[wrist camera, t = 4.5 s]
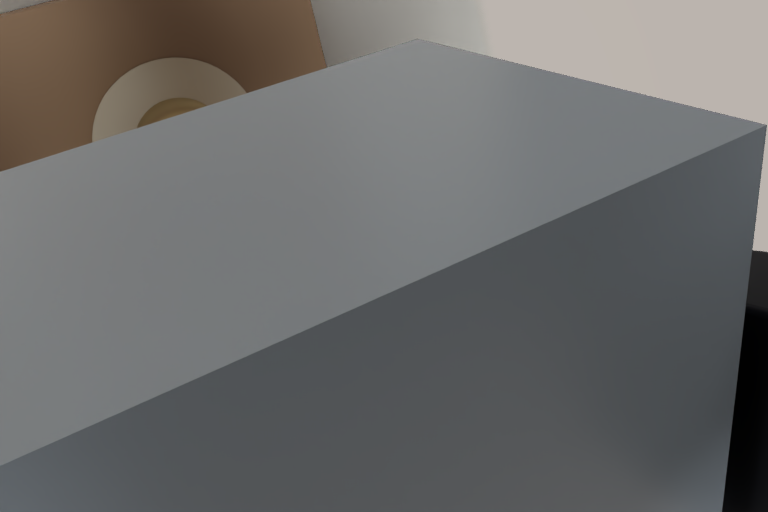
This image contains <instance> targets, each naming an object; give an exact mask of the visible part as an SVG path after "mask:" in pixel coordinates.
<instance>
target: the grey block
mask: <svg viewBox="0 0 768 512" xmlns="http://www.w3.org/2000/svg"><path fill="white" fill-rule="evenodd" d="M766 127H767V125H764V124H760V123H757V122H753V121H749V120H744V119H740V118H736V117H732V116H728V115H724V114H720V113H716V112H712V111H708V110H704V109H700V108H696V107H692V106H688V105H684V104H679V103H675V102H671V101H667V100H663V99H659V98H655V97H651V96H647V95H643V94H639V93H635V92H631V91H627V90H623V89H619V88H615V87H611V86H607V85H602V84H599V83H595V82H590V81H586V80H582V79H578V78H574V77H570V76H566V75H562V74H558V73H554V72H550V71H546V70H542V69H538V68H534V67H529V66H526V65H522V64H518V63H514V62H509V61H505V60H501V59H497V58H493V57H489V56H485V55H481V54H477V53H473V52H469V51H465V50H461V49H457V48H453V47H449V46H445V45H441V44H437V43H432V42H428V41H424V40H420V39H415V40H412V41H409V42H406V43H403V44H400V45H397V46H394V47H390V48H387V49H384V50H381V51H378V52H375V53H372V54H368V55H365V56H362V57H359V58H356V59H353V60H350V61H346V62H343V63H340V64H337V65H334V66H331V67H328V68H324V69H321V70H318V71H315V72H312V73H309V74H306V75H303V76H299V77H296V78H293V79H290V80H287V81H284V82H281V83H277V84H274V85H271V86H268V87H265V88H262V89H259V90H255V91H252V92H249V93H246V94H243V95H240V96H237V97H233V98H230V99H227V100H224V101H221V102H218V103H215V104H212V105H208V106H205V107H202V108H199V109H196V110H193V111H190V112H186V113H183V114H180V115H177V116H174V117H171V118H168V119H164V120H161V121H158V122H155V123H152V124H149V125H146V126H143V127H139V128H136V129H133V130H130V131H127V132H124V133H121V134H117V135H114V136H111V137H108V138H105V139H102V140H99V141H95V142H92V143H89V144H86V145H83V146H80V147H77V148H73V149H70V150H67V151H64V152H61V153H58V154H55V155H52V156H48V157H45V158H42V159H39V160H36V161H33V162H30V163H26V164H23V165H20V166H17V167H14V168H11V169H8V170H4V171H1V172H0V512H722V506H723V498H724V489H725V480H726V472H727V463H728V455H729V446H730V437H731V429H732V420H733V411H734V403H735V394H736V386H737V377H738V368H739V360H740V351H741V343H742V334H743V325H744V317H745V308H746V300H747V291H748V282H749V274H750V265H751V257H752V248H753V239H754V231H755V222H756V213H757V205H758V196H759V188H760V179H761V170H762V162H763V153H764V144H765V136H766Z"/></svg>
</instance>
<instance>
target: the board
mask: <svg viewBox="0 0 768 512" xmlns="http://www.w3.org/2000/svg"><path fill="white" fill-rule="evenodd" d="M324 68H327V67H326V63H325V59H324V55H323V51H322V47H321V43H320V38H319V34H318V30H317V26H316V22H315V18H314V14H313V10H312V6H311V1H310V0H53V1H49V2H45V3H41V4H37V5H34V6H30V7H26V8H22V9H18V10H14V11H10V12H6V13H3V14H0V172H1V171H4V170H8V169H11V168H14V167H17V166H20V165H23V164H26V163H30V162H33V161H36V160H39V159H42V158H45V157H48V156H52V155H55V154H58V153H61V152H64V151H67V150H70V149H73V148H77V147H80V146H83V145H86V144H89V143H92V142H95V141H99V140H102V139H105V138H108V137H111V136H114V135H117V134H121V133H124V132H127V131H130V130H133V129H136V128H139V127H143V126H146V125H149V124H152V123H155V122H158V121H161V120H164V119H168V118H171V117H174V116H177V115H180V114H183V113H186V112H190V111H193V110H196V109H199V108H202V107H205V106H208V105H212V104H215V103H218V102H221V101H224V100H227V99H230V98H233V97H237V96H240V95H243V94H246V93H249V92H252V91H255V90H259V89H262V88H265V87H268V86H271V85H274V84H277V83H281V82H284V81H287V80H290V79H293V78H296V77H299V76H303V75H306V74H309V73H312V72H315V71H318V70H321V69H324Z"/></svg>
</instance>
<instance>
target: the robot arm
mask: <svg viewBox="0 0 768 512" xmlns="http://www.w3.org/2000/svg"><path fill="white" fill-rule="evenodd" d="M722 512H768V252H763V251H753V250H752V257H751V265H750V274H749V282H748V291H747V300H746V308H745V317H744V325H743V334H742V343H741V351H740V360H739V368H738V377H737V386H736V394H735V403H734V411H733V420H732V429H731V437H730V446H729V455H728V463H727V472H726V480H725V489H724V498H723V506H722Z"/></svg>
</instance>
